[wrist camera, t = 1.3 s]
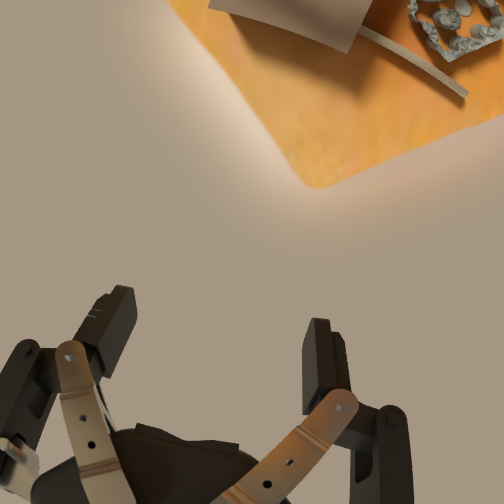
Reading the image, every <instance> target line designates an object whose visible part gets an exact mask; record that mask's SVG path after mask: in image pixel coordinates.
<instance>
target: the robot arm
mask: <svg viewBox="0 0 504 504" xmlns="http://www.w3.org/2000/svg"><path fill="white" fill-rule="evenodd" d="M136 320H137V307H136V301H135V294H134V289H133V288H131V287H127V286H122V285H116V286H115V287H114V289H113V291H112V292H111V294H104V295H103V296H101V297H100V298H99V299H97V301H96V302H95V304H94V305H93V307H92V310H90V312H89V313H88V316H86V318H85V319H84V321H83V323H82V325H81V326H80V328H79V329H78V331H77V333H76V334H75V336H74V338H73V339H72V340H69V341H65V342H63V343H62V344H60V345H59V346H58V348H40V346H39V344H38V343H37V342H36V341H35V340H32V339H26V340H23V341H21V342H19V343H18V344H17V345H16V347H15V349H14V350H13V352H12V354H11V355H10V357H9V359H8V361H7V362H6V364H5V366H4V368H3V370H2V372H1V373H0V488H2V489H4V490H6V491H8V492H10V493H14V494H17V495H18V496H20V497H22V498H24V499H26V500H28V501H30V502H31V504H291V503H290V502H289V500H288V499H287V498H286V496H287V495H288V494H289V493H290V492H291V491H292V490H293V489H294V488H295V487H296V486H297V485H298V484H299V483H300V482H301V481H302V480H303V478H304V477H305V476H306V475H307V474H308V473H309V472H310V471H311V470H312V468H313V467H314V466H315V465H316V464H317V463H318V462H319V460H320V459H321V458H322V457H323V456H324V454H325V453H326V452H327V451H328V449H329V448H330V446H331V445H332V444H335V445H338V446H341V447H344V448H347V449H351V466H350V502H349V504H414V488H413V473H412V460H411V449H410V440H409V432H408V424H407V418H406V415H405V413H404V412H403V411H402V410H401V409H400V408H399V407H397V406H394V405H386V406H384V407H382V408H381V409H380V410H379V409H376V408H372V407H370V406H366V405H364V404H362V403H360V402H359V401H358V400H357V398H356V396H355V395H354V394H353V393H352V391H351V385H350V378H349V370H348V362H347V356H346V348H345V341H344V340H343V338H342V337H341V335H340V333H339V332H331V327H330V321H329V320H328V319H321V318H312V319H311V321H310V324H309V327H308V330H307V333H306V335H305V338H304V341H303V347H302V380H303V381H302V391H303V392H302V394H303V415H309V416H308V417H307V418H306V419H305V420H304V421H303V422H302V423H301V424H300V425H299V426H297V427H295V428H294V429H293V430H292V431H291V432H290V433H289V434H288V435H287V436H286V437H285V438H284V439H283V440H282V441H281V442H280V443H279V444H278V445H277V446H276V447H275V448H274V449H273V450H272V451H271V452H270V453H269V454H268V455H267V456H266V457H265V458H263V459H262V460H261V461H260V462H259V461H258V460H256V459H255V458H253V457H252V456H251V455H249V454H247V453H245V452H243V451H241V450H239V444H236V443H229V442H222V441H216V440H203V441H185V440H182V439H180V438H178V437H176V436H174V435H171V434H169V433H168V432H166V431H164V430H162V429H159V428H155V427H151V426H146V425H143V424H140V423H137V424H136V427H135V429H133V428H132V429H123V430H119V431H117V429H116V427H115V424H114V422H113V420H112V418H111V415H110V412H109V410H108V407H107V404H106V401H105V398H104V395H103V392H102V389H101V385H100V383H99V382H100V380H101V378H102V376H103V377H106V378H109V379H110V378H111V376H112V374H113V371H114V369H115V367H116V365H117V362H118V360H119V358H120V356H121V353H122V351H123V349H124V347H125V345H126V343H127V341H128V339H129V337H130V334H131V332H132V330H133V328H134V326H135V324H136ZM58 393H62V394H60V403H61V407H62V411H63V415H64V420H65V423H66V427H67V431H68V434H69V438H70V442H71V445H72V448H73V451H74V455H75V456H73V457H71V458H70V459H68V460H66V461H65V462H63V463H61V464H59V465H57V466H56V467H54V468H52V469H50V470H49V471H47V472H45V473H43V474H41V475H40V476H39V472H38V471H39V458H38V456H37V454H36V452H35V451H36V448H37V445H38V442H39V439H40V437H41V434H42V431H43V429H44V426H45V423H46V421H47V418H48V416H49V413H50V410H51V408H52V406H53V403H54V401H55V399H56V396H57V394H58Z"/></svg>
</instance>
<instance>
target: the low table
mask: <svg viewBox="0 0 504 504" xmlns="http://www.w3.org/2000/svg"><path fill="white" fill-rule="evenodd" d="M371 3H372V0H210V2H209V5H208V8H210V9H214V10H219V11H223V12H227V13H231V14H235V15H239V16H243V17H247V18H250V19H254V20H257V21H260V22H264V23H267V24H270V25H273V26H276V27H279V28H282V29H285V30H288V31H291V32H294V33H297V34H299V35H302V36H305V37H307V38H310V39H312V40H315V41H317V42H320V43H322V44H325V45H327V46H329V47H332V48H334V49H336V50H339V51H341V52H343V53H345V54H348V51H349V49H350V47H351V45H352V43H353V41H354V39H355V37H356V34H357V33H358V34H360V35H362V36H364V37H366V38H368V39H370V40H372V41H374V42H376V43H378V44H379V45H381V46H383V47H385V48H387V49H389V50H391V51H392V52H394V53H396V54H398V55H399V56H401V57H403V58H405V59H406V60H408V61H410V62H411V63H413V64H415V65H416V66H418V67H419V68H421V69H423V70H424V71H426V72H427V73H429V74H430V75H432V76H433V77H435V78H436V79H438V80H439V81H441V82H442V83H443V84H445V85H446V86H448V87H449V88H451V89H452V90H453V91H455V92H456V93H457V94H459V95H460V96H462V97H463V98H464V99H466V97H467V95H468V93H469V91H467V90H466V89H465V88H463V87H462V86H461V85H459V84H458V83H457V82H455V81H454V80H453V79H451V78H450V77H449V76H447V75H446V74H444V73H443V72H441V71H440V70H439V69H437V68H436V67H434V66H433V65H431V64H430V63H428V62H427V61H425V60H423V59H422V58H420V57H419V56H417V55H416V54H414V53H412V52H411V51H409V50H407V49H406V48H404V47H402V46H400V45H399V44H397V43H395V42H393V41H392V40H390V39H388V38H386V37H384V36H382V35H381V34H379V33H377V32H375V31H373V30H371V29H369V28H367V27H365V26H363V25H361V24H362V22H363V20H364V17H365V15H366V13H367V11H368V9H369V7H370V5H371Z"/></svg>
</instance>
